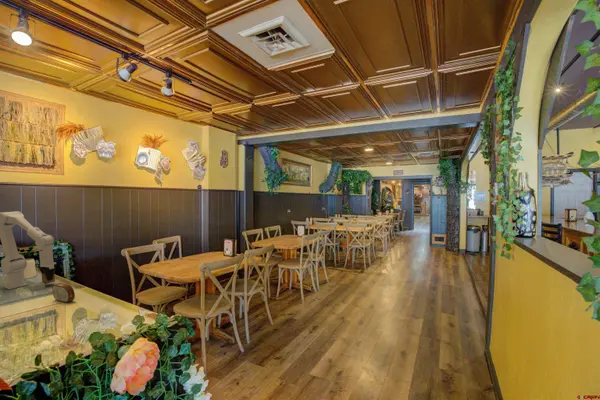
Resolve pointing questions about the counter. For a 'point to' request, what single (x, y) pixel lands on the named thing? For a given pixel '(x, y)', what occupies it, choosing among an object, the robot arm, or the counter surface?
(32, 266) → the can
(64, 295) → the tin
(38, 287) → the slate block
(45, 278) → the walnut block
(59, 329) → the counter surface
